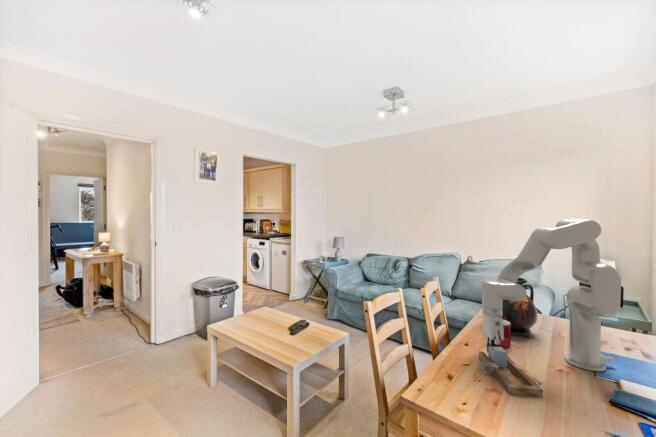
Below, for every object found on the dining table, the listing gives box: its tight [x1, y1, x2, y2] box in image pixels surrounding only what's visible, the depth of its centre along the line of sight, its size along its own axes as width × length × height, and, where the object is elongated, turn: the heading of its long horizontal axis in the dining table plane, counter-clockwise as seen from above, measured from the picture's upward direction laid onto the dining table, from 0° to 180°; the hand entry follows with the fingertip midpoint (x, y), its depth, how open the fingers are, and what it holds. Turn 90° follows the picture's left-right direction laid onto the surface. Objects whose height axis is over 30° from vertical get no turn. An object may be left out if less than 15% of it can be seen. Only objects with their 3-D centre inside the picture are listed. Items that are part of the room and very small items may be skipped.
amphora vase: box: [502, 277, 538, 338], centre depth 148 cm, size 22×22×28 cm
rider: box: [487, 346, 508, 368], centre depth 114 cm, size 5×5×6 cm
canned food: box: [497, 320, 512, 349], centre depth 132 cm, size 8×8×11 cm
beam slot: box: [478, 350, 544, 398], centre depth 107 cm, size 13×26×3 cm, turn 173°
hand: (491, 353), depth 119 cm, fingers closed
